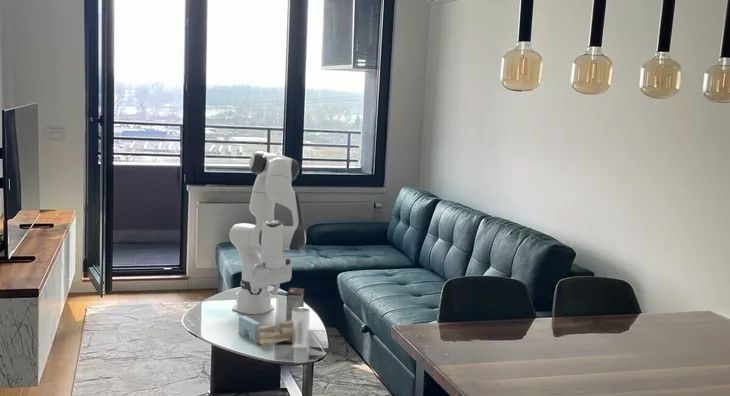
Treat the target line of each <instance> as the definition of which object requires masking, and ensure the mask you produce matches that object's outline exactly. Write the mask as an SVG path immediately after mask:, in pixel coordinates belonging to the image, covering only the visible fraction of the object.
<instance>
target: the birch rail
mask: <svg viewBox="0 0 730 396" xmlns="http://www.w3.org/2000/svg"><path fill="white" fill-rule="evenodd" d="M289 340H292V341H293V333H292V325H291V320H289V321H286V320H284V321H280V322H279V330H278V332H276V326H275V325H274V324H266V325H261V327H259V330H258V340H257V341H254V342H255V344H256V345H258V346H260V347H262V348H264V349H265V348H268V347H269V346H270V345H273V344H277V343H281V342H284V341H289Z"/></svg>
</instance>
